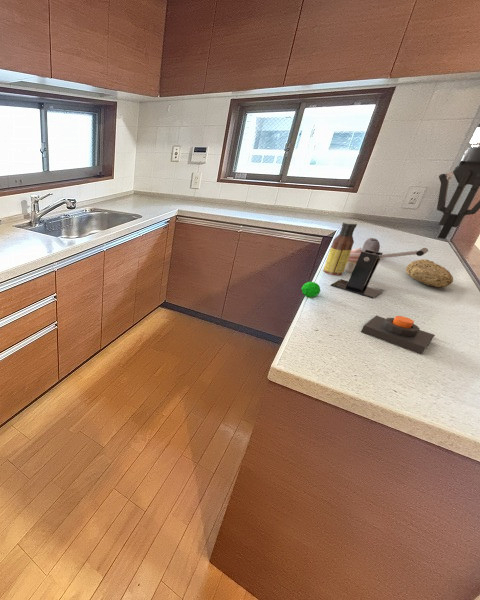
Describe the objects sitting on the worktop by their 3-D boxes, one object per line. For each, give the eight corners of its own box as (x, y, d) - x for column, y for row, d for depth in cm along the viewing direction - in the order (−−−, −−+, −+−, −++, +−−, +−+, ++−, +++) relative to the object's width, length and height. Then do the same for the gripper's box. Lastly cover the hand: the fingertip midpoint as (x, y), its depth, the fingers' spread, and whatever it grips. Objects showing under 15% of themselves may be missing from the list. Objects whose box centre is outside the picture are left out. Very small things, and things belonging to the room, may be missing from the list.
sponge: (402, 272, 132) (397, 274, 118) (417, 255, 128) (414, 254, 115) (443, 289, 124) (443, 292, 110) (460, 271, 120) (462, 272, 107)
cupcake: (358, 278, 122) (369, 253, 117) (330, 270, 128) (340, 246, 124) (367, 273, 126) (379, 249, 122) (340, 266, 133) (350, 242, 129)
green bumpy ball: (319, 296, 106) (324, 283, 104) (315, 300, 103) (320, 287, 101) (301, 291, 109) (306, 278, 107) (297, 295, 106) (302, 282, 104)
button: (412, 326, 82) (415, 320, 82) (408, 330, 81) (412, 324, 80) (394, 320, 85) (397, 314, 84) (390, 324, 83) (393, 318, 82)
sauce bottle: (341, 273, 125) (362, 222, 117) (341, 278, 121) (364, 225, 112) (321, 270, 129) (340, 220, 120) (321, 274, 124) (341, 223, 115)
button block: (430, 342, 83) (438, 328, 81) (420, 354, 77) (429, 341, 76) (372, 322, 91) (379, 309, 90) (360, 332, 86) (366, 319, 84)
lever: (428, 253, 96) (427, 246, 96) (424, 257, 94) (423, 248, 93) (367, 260, 108) (366, 253, 108) (361, 263, 105) (360, 256, 105)
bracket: (380, 294, 109) (400, 255, 103) (371, 300, 104) (391, 260, 98) (339, 282, 118) (355, 245, 112) (329, 287, 113) (345, 249, 107)
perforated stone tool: (377, 261, 140) (384, 246, 137) (362, 259, 143) (368, 243, 140) (374, 253, 151) (380, 238, 148) (359, 250, 154) (366, 236, 151)
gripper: (530, 147, 79) (477, 240, 90) (455, 146, 89) (414, 231, 99) (530, 146, 75) (473, 245, 86) (450, 145, 84) (408, 234, 95)
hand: (442, 237), depth 92 cm, fingers closed
